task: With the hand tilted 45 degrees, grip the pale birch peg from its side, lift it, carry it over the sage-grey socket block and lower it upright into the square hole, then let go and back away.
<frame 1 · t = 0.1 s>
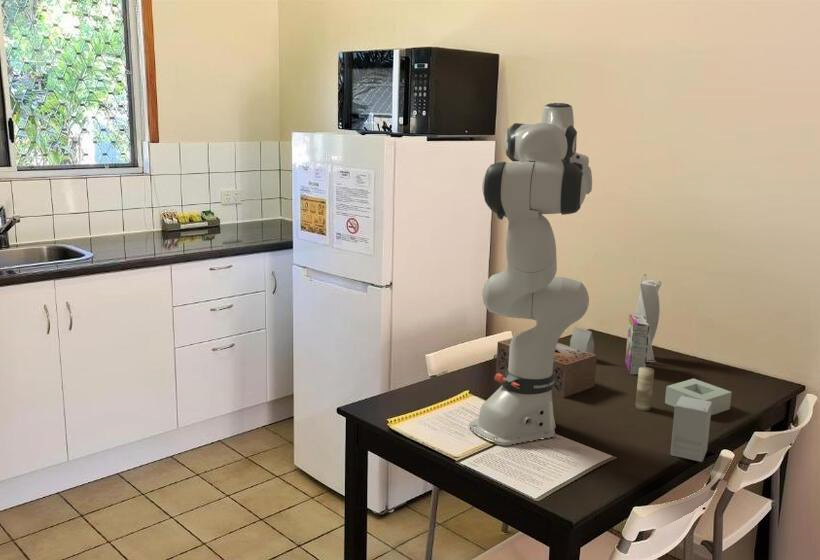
hand: (554, 205, 211), 52 cm above the table, tool tilted 20°, fingers open, 8 cm apart
supplement box: (688, 453, 174), on the table
tissue box cover: (544, 380, 220), on the table
peg: (642, 407, 200), on the table
candy bar box: (634, 370, 231), on the table
socket block: (696, 406, 202), on the table
grey bevelled box: (580, 359, 240), on the table
skyscraper: (641, 359, 242), on the table
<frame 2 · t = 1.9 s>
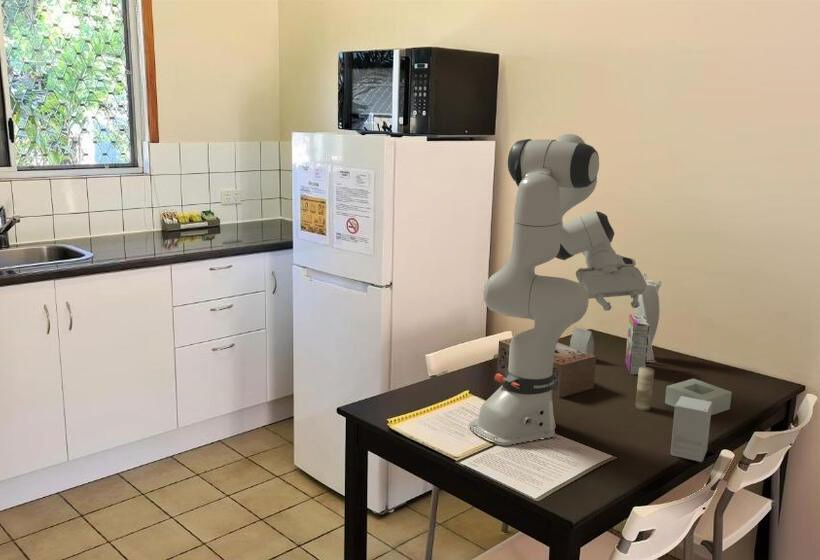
hand: (622, 308, 206), 25 cm above the table, tool tilted 45°, fingers open, 8 cm apart
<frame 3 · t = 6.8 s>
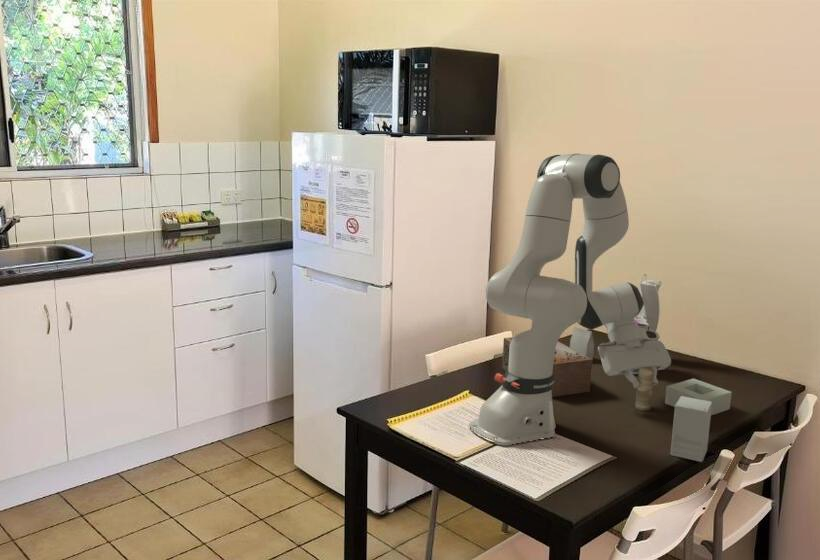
hand: (646, 385, 198), 7 cm above the table, tool tilted 45°, fingers closed on peg, 4 cm apart
peg: (642, 407, 200), on the table, touching gripper
when the fingers open (8 cm above the table, at t = 12.0 s): peg drops 1 cm, resting in socket block.
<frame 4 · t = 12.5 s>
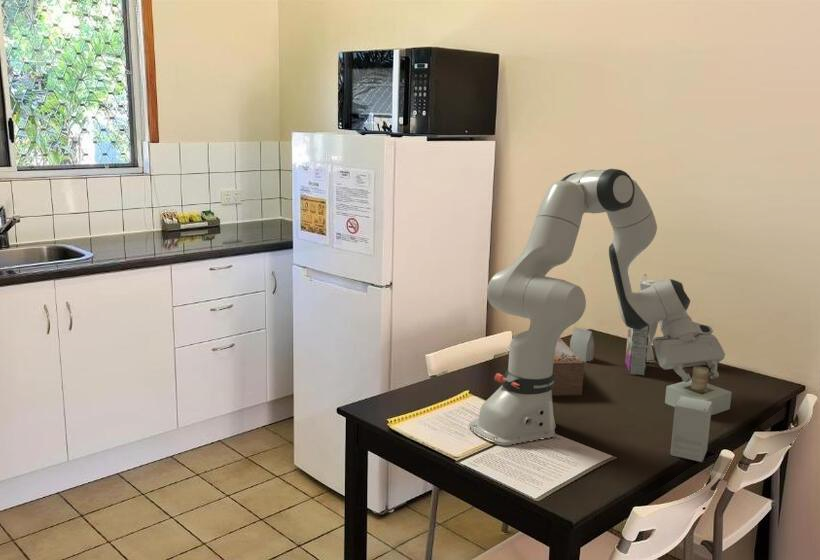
hand: (701, 379, 200), 8 cm above the table, tool tilted 45°, fingers open, 8 cm apart
peg: (696, 406, 202), resting in socket block
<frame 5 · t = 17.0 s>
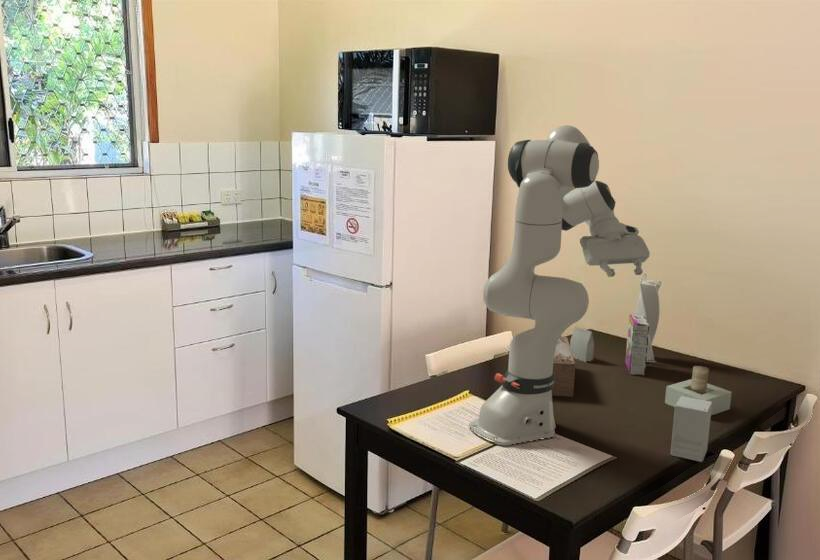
hand: (625, 274, 209), 33 cm above the table, tool tilted 45°, fingers open, 8 cm apart
at the end: peg 0.1 cm off-centre on the socket block, point 0.0 cm above the socket block's base; peg tilted 0°; the gripper is holding nothing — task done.
